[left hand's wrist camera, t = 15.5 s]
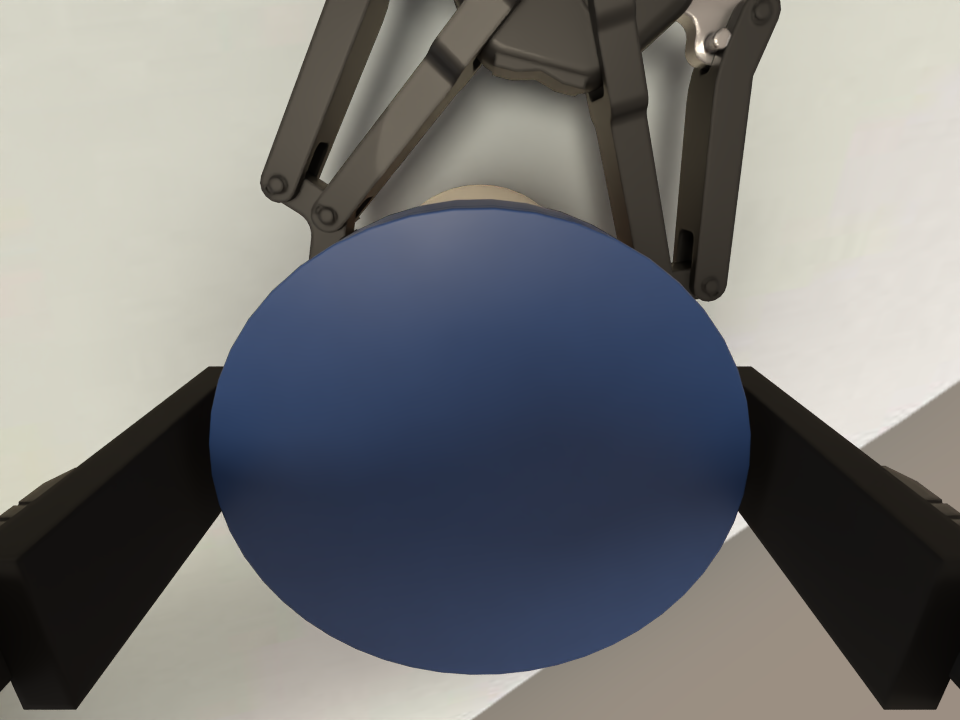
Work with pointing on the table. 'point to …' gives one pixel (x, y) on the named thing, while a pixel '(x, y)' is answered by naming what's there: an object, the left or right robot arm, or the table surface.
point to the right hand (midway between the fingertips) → (457, 413)
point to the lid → (479, 439)
